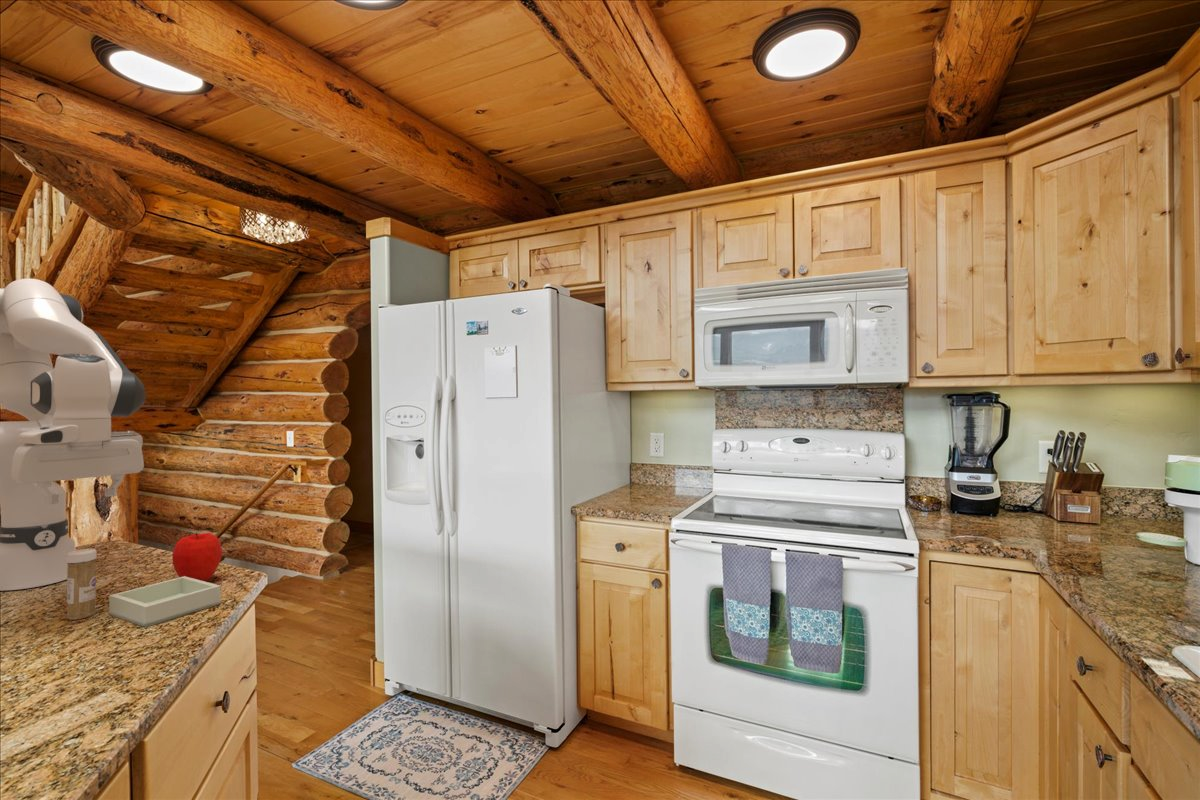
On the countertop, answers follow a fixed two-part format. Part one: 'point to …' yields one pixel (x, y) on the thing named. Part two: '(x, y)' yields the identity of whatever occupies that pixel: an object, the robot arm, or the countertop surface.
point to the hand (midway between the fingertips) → (82, 500)
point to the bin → (164, 601)
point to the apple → (197, 556)
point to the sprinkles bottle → (81, 583)
